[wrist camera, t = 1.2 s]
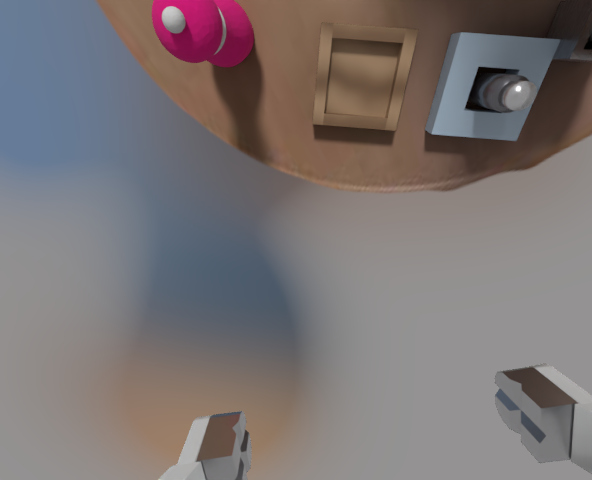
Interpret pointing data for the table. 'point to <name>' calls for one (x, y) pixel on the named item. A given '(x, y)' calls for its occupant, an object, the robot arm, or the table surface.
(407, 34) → the tray
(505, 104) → the round-tipped peg
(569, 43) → the housing
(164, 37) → the pepper mill
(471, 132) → the socket block
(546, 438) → the robot arm
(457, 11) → the table surface
